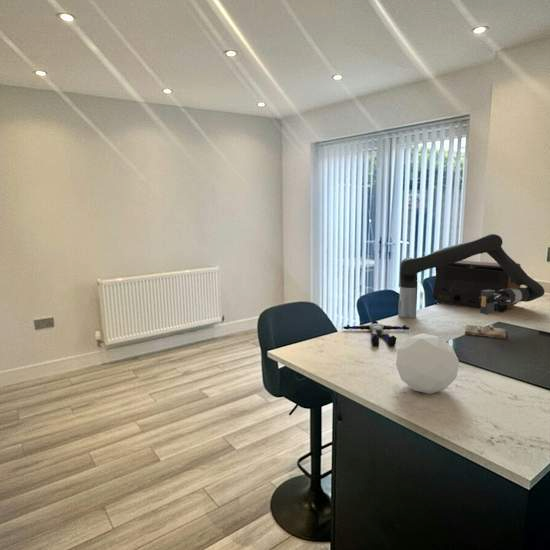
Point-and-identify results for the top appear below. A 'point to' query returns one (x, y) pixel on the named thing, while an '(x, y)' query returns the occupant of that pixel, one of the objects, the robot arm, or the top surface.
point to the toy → (379, 332)
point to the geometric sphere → (427, 363)
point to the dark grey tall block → (487, 307)
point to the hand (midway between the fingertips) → (483, 300)
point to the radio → (470, 283)
